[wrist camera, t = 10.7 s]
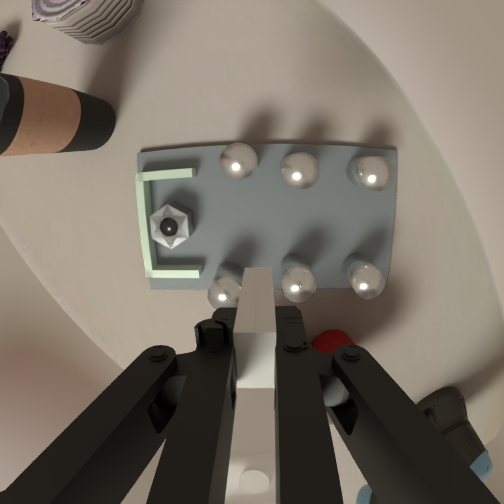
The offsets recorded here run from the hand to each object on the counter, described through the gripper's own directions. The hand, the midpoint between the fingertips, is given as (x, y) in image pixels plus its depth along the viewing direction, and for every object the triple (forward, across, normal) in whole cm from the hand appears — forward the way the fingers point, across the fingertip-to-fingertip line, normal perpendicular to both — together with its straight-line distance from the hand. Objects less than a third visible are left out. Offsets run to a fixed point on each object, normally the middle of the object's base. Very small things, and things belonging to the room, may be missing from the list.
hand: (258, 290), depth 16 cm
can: (+20, +21, -32) cm, 43 cm away
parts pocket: (+20, +11, 0) cm, 23 cm away
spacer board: (+20, -1, 0) cm, 20 cm away
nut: (+19, +10, 0) cm, 22 cm away
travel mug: (+20, +22, -14) cm, 33 cm away
